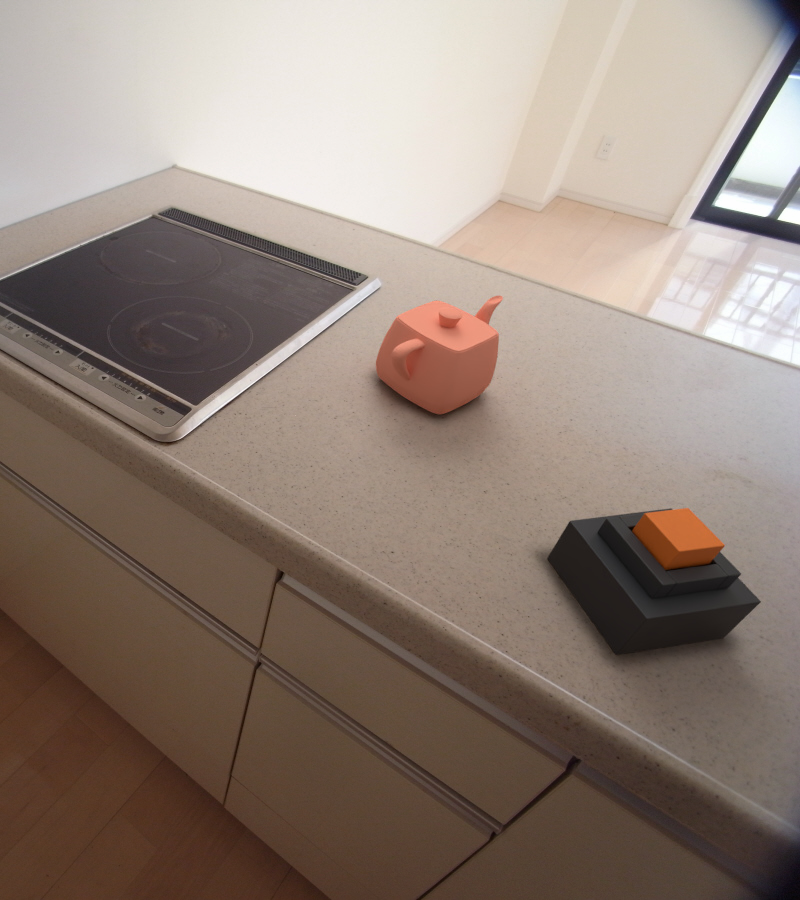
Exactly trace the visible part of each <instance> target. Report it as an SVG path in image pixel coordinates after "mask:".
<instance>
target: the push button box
mask: <svg viewBox="0 0 800 900" xmlns="http://www.w3.org/2000/svg"><path fill="white" fill-rule="evenodd" d="M667 510H674V509H673V508H671V507H670V508H665V509H664V508H662V509H656V510H655V509H654V510H647V511H637V512H631V513H623V514H614V515H605V516H598V517H590V518H589V517H588V518H581V519H573V520H569V521H568V523H567V525H566V526H565V528H564V530H563V532H562V533H561V535H560V536H559V538H558V540H557V541H556V543H555V544H554V546H553V547H552V550H551V551H550V553H549V554H548V556H547V560H548V561H549V563H550V564H551V566H552V567H553V568H554V570H555V572H556V573H557V574H558V575H559V577H560V578H561V580H562V581H563V583H564V584H565V585H566V587H567V588H568V590H569V591H570V592H571V594H572V595H573V596H574V598H575V599H576V601H577V602H578V603H579V605H580V606H581V608H582V609H583V610H584V612H585V614H586V615H587V616H588V618H589V619H590V620H591V622H592V623H593V624H594V626H595V627H596V629H597V630H598V631H599V633H600V634H601V636H602V637H603V639H604V640H605V642H606V644H608V646H609V647H610V648H611V650H612V651H613V653H614V654H615V655H618V656H619V655H623V654H630V653H636V652H642V651H650V650H656V649H660V648H661V649H662V648H668V647H675V646H681V645H688V644H694V643H701V642H707V641H713V640H720V639H725V638H726V637H727V635H728V634H729V633H731V632H732V631H733V630H734V629H735V627H737V626H738V625H739V624H740V623H741V622H742V621H743V620H744V619H745V618H747V616H748V615H749V614H750V613H751V612H753V611H754V610H755V609H756V608H757V607H758V606H759V605H760V604H761V603H762V601H761V599H759V597H757V596H756V594H755V593H753V592H752V590H751V589H749V587H748V586H747V585H746V584H745V583H744V582H743V581H742V580H741V578H739V577H741V575H742V573H741V571H740V570H738V569H737V567H735V565H734V564H733V563H731V561H730V560H729V559H728V558H727V557H726V556H725V555H724V554H723V553H722V552H721V551H720V552H719V553H718V554H717V556H716V557H715V558H714V559H713V560H712V561H711V562H710V563H709V564H707V565H700V566H692V567H685V568H678V569H670V570H665V569H664V568H663V567H662V566H661V565H660V564H659V563H658V561H657V560H656V559H655V558H654V557H653V556H652V554H651V553H650V552H649V551H648V550H647V549H646V548H645V546H644V545H643V544H642V543H641V542H640V541H639V539H638V538H637V537H636V536H635V535H634V534H633V533H632V530H633V529H634V528H635V526H636V525H637V523H638V522H639V521H640V519H641V518H642V516H643V515H644V514H645V513H651V512H659V511H667Z"/></svg>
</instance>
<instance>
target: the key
mask: <svg viewBox="0 0 800 900" xmlns="http://www.w3.org/2000/svg"><path fill="white" fill-rule="evenodd" d="M632 533H633V534H634V535H635V536H636V537H637V538H638V539H639V541H640V542H641V543H642V544H643V545H644V546H645V548H646V549H647V550H648V551H649V552H650V553H651V554H652V556H653V557H654V558H655V559H656V560H657V561H658V563H659V564H660V565H661V566H662V567H663V568H664V569H665V570H670V569H678V568H685V567H692V566H700V565H707V564H709V563H710V562H711V561H712V560H713V559H714V558H715V557H716V556H717V554H718V553H719V552H721V551H722V550H724V548H725V546H726V545H725V544H724V543H723V542H722V540H720V538H718V536H717V535H716V534H715V533H714V532H713V531H711V529H710V528H709V527H708V526H707V525H706V524H705V523H704V522H703V521H702V520H701V519H700V518H699V517H698V516H697V515H696V514H695V513H694V512H693V511H692V510H691V509H690V507H684V508H676V509H673V510H667V511H659V512H651V513H645V514H644V515H643V516H642V518H641V519H640V521H639V522H638V523H637V525H636V526H635V528H634V529H633V530H632Z"/></svg>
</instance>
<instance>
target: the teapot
mask: <svg viewBox="0 0 800 900" xmlns="http://www.w3.org/2000/svg"><path fill="white" fill-rule="evenodd" d="M503 300H504V297H503V295H494V296H492V297H490V298H489V299H487V300H486V301H485V302H484V303H483V304H482V306H481V307H480V308H479V310H478V311H477V312H476V313H475V315H473V314H470V313H469V312H468V311H465V310H463V309H461V308H458V307H456V306H455V305H452V304H450V303H447V302H445V301H441V300H433V301H429V302H427V303H424V304H421V305H418V306H416V307H413V308H411V309H409V310H406V311H404V312H402V313H400V314H399V315H397V316H396V317H395V318H394V320H393V322H392V323H391V325H390V327H389V328H388V330H387V332H386V334H385V336H384V338H383V340H382V342H381V343H380V347H379V350H378V352H377V355H376V359H375V369H376V374H377V376H378V378H379V379H380V380H381V381H382V382H384V383H385V384H386V385H387V386H388V387H389V388H391V389H392V390H393V391H394V392H395V393H398V394H399V395H400V396H402V397H403V398H405V399H407V400H408V401H410V402H412V403H413V404H415V405H417V406H419V407H420V408H422V409H424V410H426V411H428V412H430V413H432V414H435V415H436V414H437V415H443V414H444V415H445V414H447V413H449V412H451V411H454V410H457V409H458V408H460V407H462V406H464V405H466V404H467V403H469V402H471V401H473V400H475V399H477V398H478V397H479V396H480V395H482V394H483V393H484V392H485V391H486V390H487V388H488V387H489V386H490V384H491V382H492V380H493V378H494V374H495V370H496V366H497V361H498V354H499V342H500V341H499V340H500V334H499V332H498V330H497V329H495V328H494V327H493V326H491V325H490V322H491V318H492V316H493V314H494V312H495V310H496V309H497V307H498V306H499V305H500V304H501V302H502V301H503Z"/></svg>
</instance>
